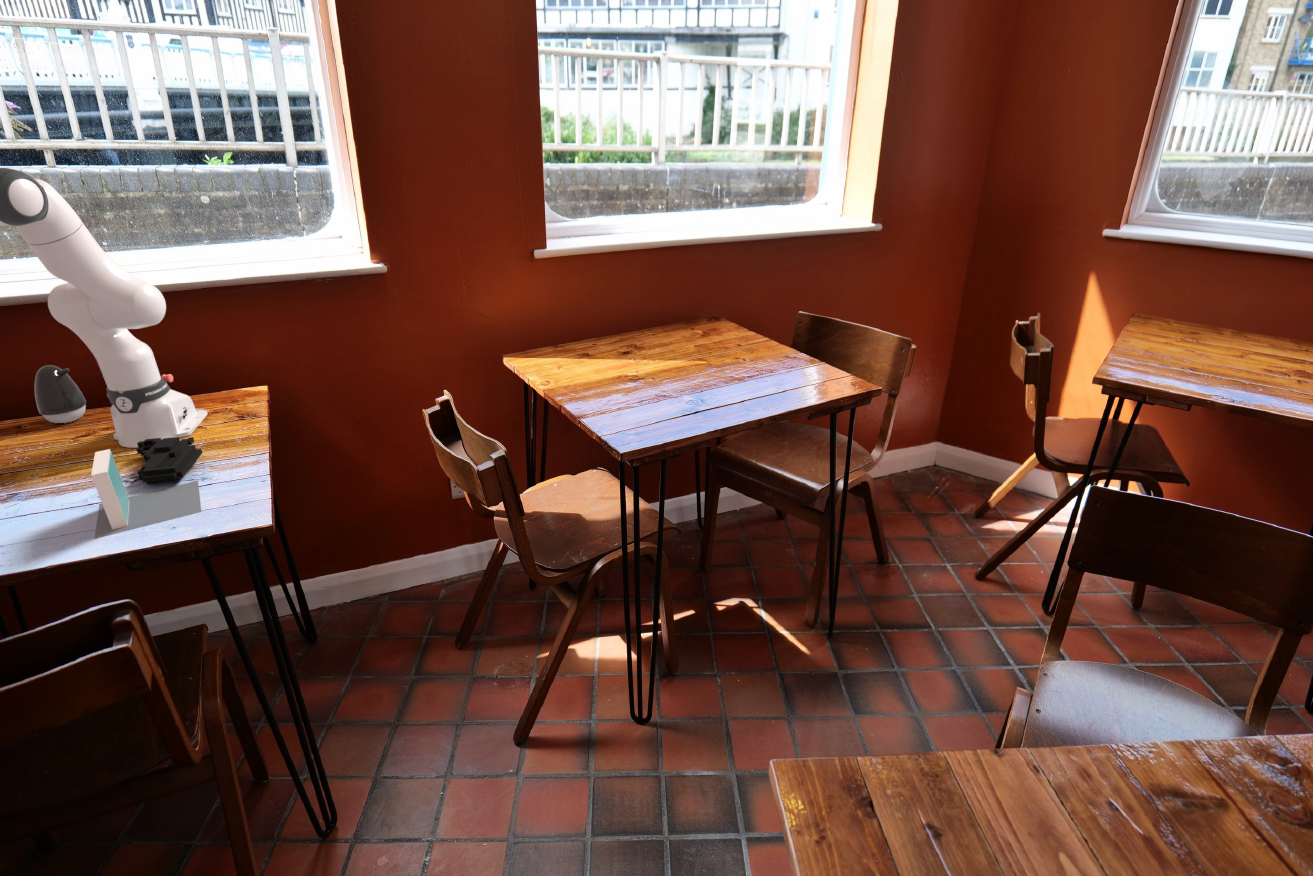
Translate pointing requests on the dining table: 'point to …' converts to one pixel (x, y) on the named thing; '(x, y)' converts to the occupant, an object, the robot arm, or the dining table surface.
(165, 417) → the robot arm
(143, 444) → the tool
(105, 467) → the tile
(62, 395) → the penguin toy figure
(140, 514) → the mat
